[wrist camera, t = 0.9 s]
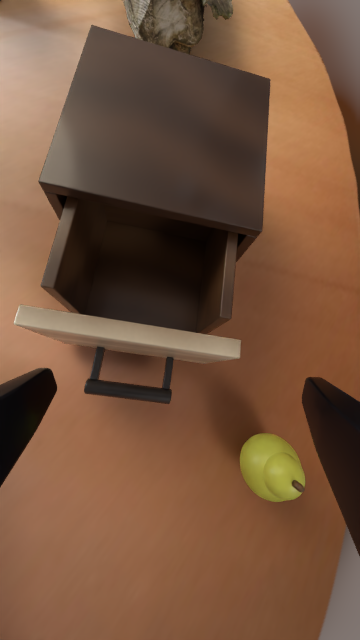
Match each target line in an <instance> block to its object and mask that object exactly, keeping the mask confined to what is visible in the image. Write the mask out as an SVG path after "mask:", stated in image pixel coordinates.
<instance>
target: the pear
mask: <svg viewBox="0 0 360 640" xmlns="http://www.w3.org/2000/svg"><path fill="white" fill-rule="evenodd" d="M240 468H241V472H242V475H243V478H244V480H245V482H246V483H247V485H248V486H249V487H250V489H251V490H252V491H253V492H254V493H255V494H257V495H258V496H260V497H261V498H263V499H265V500H268V501H273V502H281V501H285V500H293V499H295V498H297V497H299V496H300V495H301V493H302V492H303V491H304V487H305V475H304V472H303V469H302V467H301V463H300V460H299V458H298V456H297V454H296V452H295V451H294V449H293V448H292V447H291V445H290V444H288V443H287V442H286V441H285V440H284V439H282V438H280V437H279V436H276V435H273V434H269V433H261V434H257V435H254V436H252V437H251V438H250V439H248V440H247V441H246V442H245V443H244V445H243V447H242V450H241V454H240Z"/></svg>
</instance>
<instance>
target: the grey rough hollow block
mask: <svg viewBox="0 0 360 640" xmlns="http://www.w3.org/2000/svg"><path fill="white" fill-rule="evenodd" d="M123 3H124V6H125V9H126V12H127V18H128V20H129V25H130V27H131V29H132V31H133V33H134V35H135V38H137V39H140V40H143V41H146V42H150V43H153V44H156V45H160V46H163V47H166V48H170V49H173V50H176V51H179V52H183V53H186V54H189V55H190V51H191V47H193V46H194V45H196V44H197V43H198V42H199V41H200V39H201V37H202V33H203V21H204V18H203V15H204V6H206V5H205V4H206V3H207V4H208V5H209V6H210V7H211V8H212V12H213V17H214V18H216V19H217V18H218V17H219V15H220V16H223V18H224V19H225V20H226V19H229V18H230V17H231V15H232V14H233V5H232V0H123ZM206 7H207V6H206Z"/></svg>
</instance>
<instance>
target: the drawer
mask: <svg viewBox="0 0 360 640" xmlns="http://www.w3.org/2000/svg"><path fill="white" fill-rule="evenodd" d="M237 241H238V233H235V232H231V231H226V230H221V229H217V228H212V227H208V226H203V225H198V224H194V223H189V222H185V221H180V220H175V219H171V218H166V217H162V216H157V215H152V214H148V213H143V212H138V211H134V210H129V209H125V208H120V207H115V206H111V205H106V204H102V203H97V202H92V201H88V200H83V199H79V198H74V197H69V196H67V199H66V202H65V205H64V209H63V212H62V216H61V219H60V222H59V226H58V229H57V232H56V236H55V239H54V242H53V246H52V249H51V253H50V256H49V259H48V263H47V266H46V269H45V273H44V276H43V279H42V283H41V287H42V288H43V289H45V290H46V291H47V292H48V293H49V294H50V295H52V296H53V297H54V298H55V299H56V300H58V301H59V302H60V303H61V304H62V305H64V306H65V307H66V308H67V309H68V310H69V311H71V312H72V313H70V312H64V311H58V310H52V309H46V308H39V307H33V306H27V305H19V308H18V311H17V314H16V318H15V321H14V324H15V325H17V326H20V327H22V328H25V329H28V330H30V331H33V332H36V333H38V334H41V335H44V336H46V337H49V338H52V339H54V340H57V341H60V342H62V343H65V344H72V345H79V346H86V347H93V348H97V349H96V354H95V358H94V363H93V367H92V372H91V376H90V379H88V380H87V381H86V384H85V389H84V392H85V394H92V395H100V396H108V397H117V398H125V399H133V400H141V401H149V402H157V403H165V404H170V401H171V395H172V390H171V389H170V382H171V375H172V368H173V360H174V359H175V360H182V361H189V362H195V363H202V364H206V363H212V362H219V361H225V360H232V359H238V358H240V348H241V340H238V339H232V338H226V337H219V336H213V335H207V333H209V332H211V331H212V330H214V329H215V328H217V327H219V326H220V325H222V324H224V323H225V322H227V321H228V320H230V319H231V315H232V302H233V290H234V278H235V266H236V254H237ZM105 349H106V350H113V351H120V352H127V353H134V354H141V355H147V356H154V357H161V358H166V365H165V372H164V379H163V385H162V388H157V387H150V386H142V385H134V384H127V383H119V382H111V381H104V380H98V379H99V375H100V371H101V366H102V361H103V356H104V352H105Z"/></svg>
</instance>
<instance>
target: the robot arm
mask: <svg viewBox="0 0 360 640" xmlns="http://www.w3.org/2000/svg"><path fill="white" fill-rule="evenodd" d="M56 391H57V384H56V381H55V378H54V375H53V372H52V370H51V369H49V368H38V369H35V370H33V371H31V372H28V373H26V374H24V375H22V376H19V377H17V378H15V379H12V380H10V381H8V382H6V383H3V384H1V385H0V487H1V485H2V484H3V482H4V481H5V479H6V477H7V476H8V474H9V473H10V471H11V470H12V468H13V466H14V465H15V463H16V462H17V460H18V459H19V457H20V455H21V454H22V452H23V451H24V449H25V448H26V446H27V444H28V443H29V441H30V440H31V438H32V437H33V435H34V433H35V432H36V430H37V428H38V426H39V424H40V423H41V421H42V419H43V417H44V415H45V413H46V411H47V409H48V407H49V405H50V403H51V401H52V399H53V397H54V396H55V394H56ZM302 404H303V408H304V411H305V415H306V418H307V422H308V425H309V428H310V432H311V435H312V439H313V442H314V445H315V448H316V451H317V454H318V457H319V459H320V462H321V464H322V466H323V469H324V471H325V474H326V476H327V478H328V481H329V483H330V486H331V488H332V491H333V493H334V495H335V498H336V500H337V503H338V505H339V508H340V510H341V512H342V515H343V517H344V520H345V522H346V524H347V527H348V529H349V532H350V534H351V537H352V539H353V541H354V543H355V546H356V549H357V551H358V553H359V556H360V402H359V401H357V400H356V399H354V398H353V397H351V396H349V395H348V394H346V393H345V392H343V391H342V390H340V389H338V388H337V387H335V386H334V385H332V384H330V383H329V382H327V381H326V380H324V379H322V378H320V377H308V378H306V380H305V384H304V389H303V394H302Z"/></svg>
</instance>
